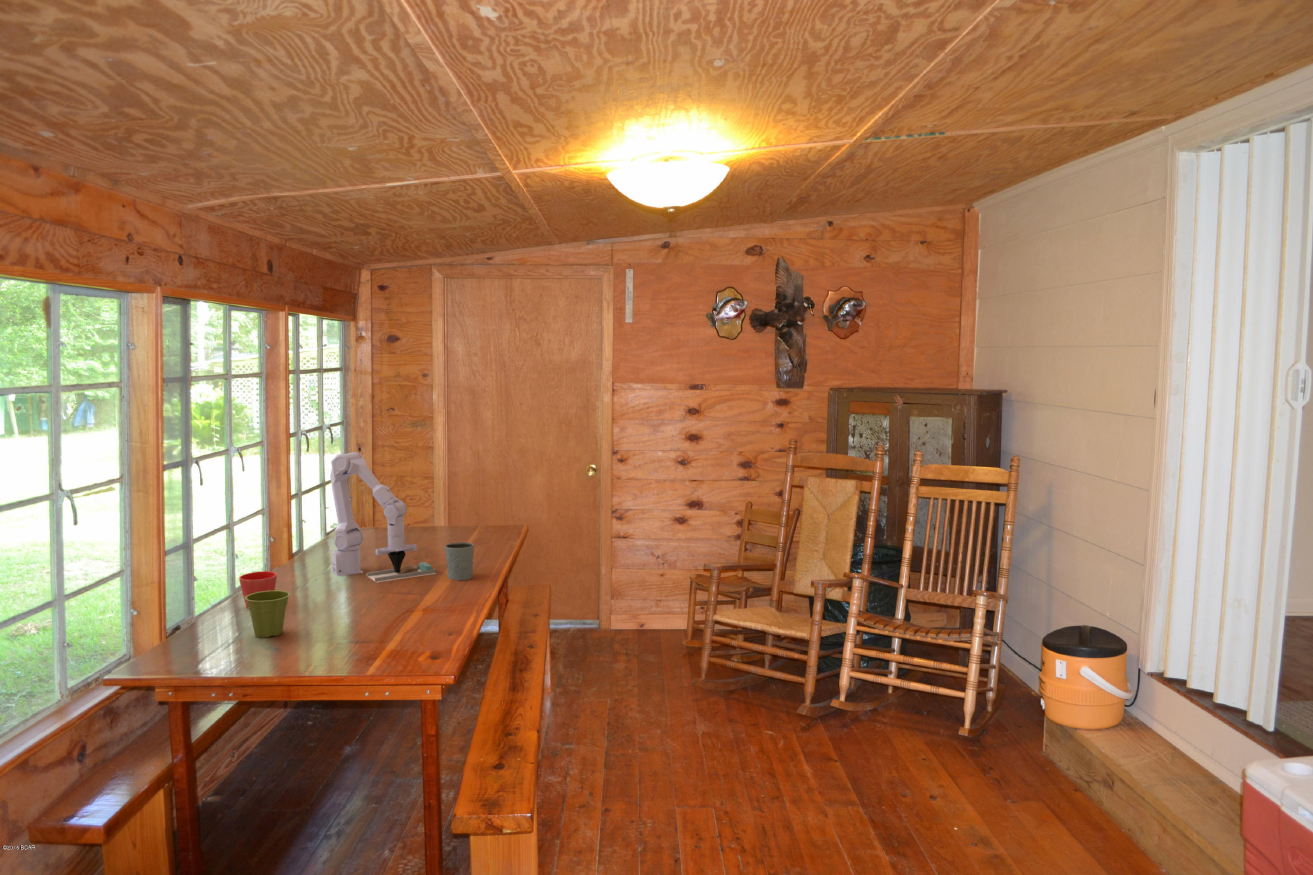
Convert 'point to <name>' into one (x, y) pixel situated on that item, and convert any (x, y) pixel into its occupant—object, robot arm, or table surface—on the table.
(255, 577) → the flower pot
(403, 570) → the block
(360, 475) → the robot arm
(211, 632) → the table surface
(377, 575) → the track
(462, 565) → the grey tapered pot
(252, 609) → the plant pot
